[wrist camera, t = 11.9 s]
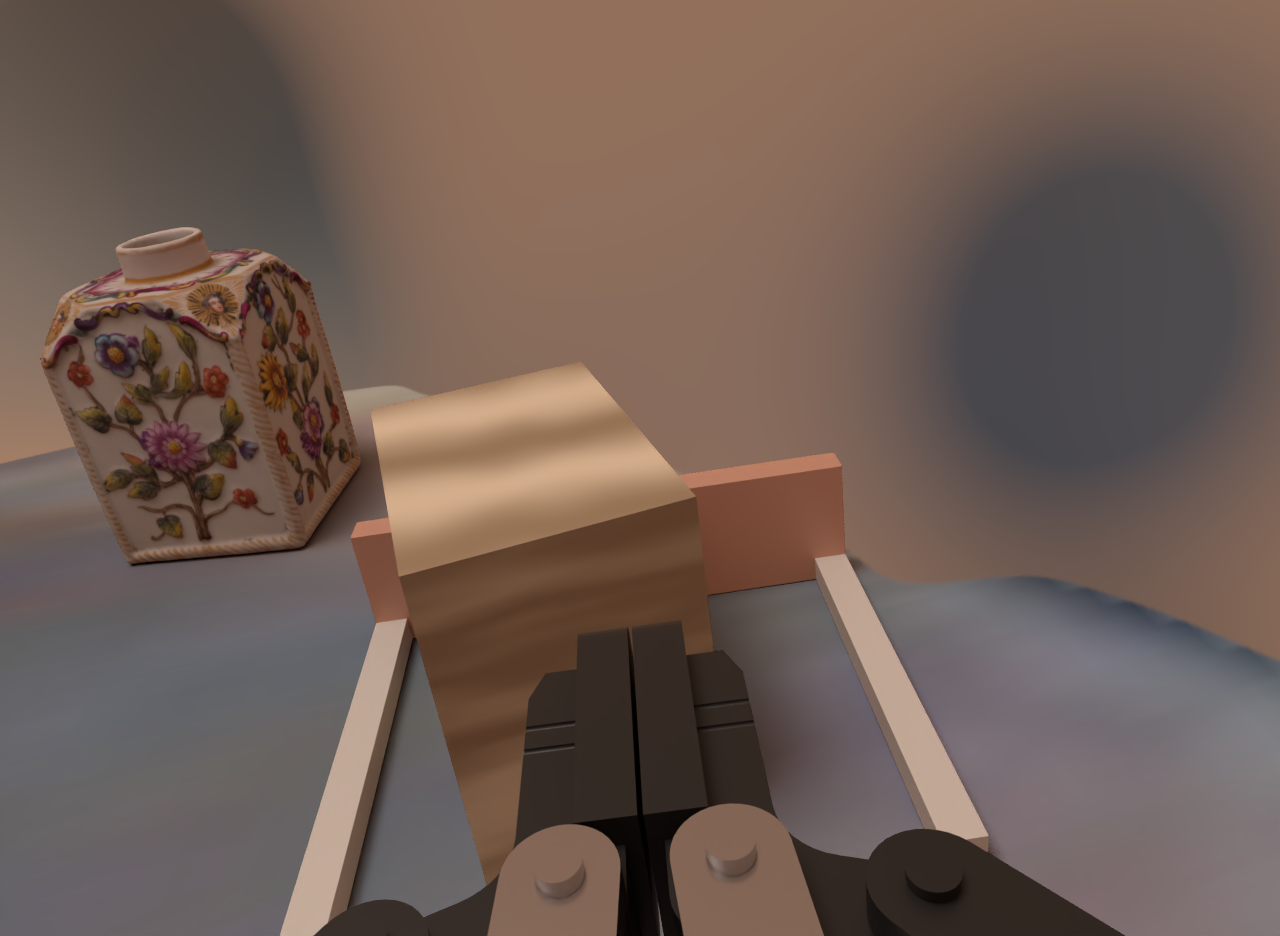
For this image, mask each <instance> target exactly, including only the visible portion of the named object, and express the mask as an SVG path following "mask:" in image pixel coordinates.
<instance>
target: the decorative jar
mask: <svg viewBox="0 0 1280 936" xmlns="http://www.w3.org/2000/svg"><path fill="white" fill-rule="evenodd" d="M116 254H117V257H118V260H119V262H120V265H121V269H119V270H116V271H114V272H112V273H110V274H109V275H106V276H103V277H100V278H98V279H96V280H93V281H91V282H89V283H86V284H84V285H82V286H79V287H77V288H75V289H73V290H71V291H70V292H68V293H67V294H65V295H64V296H62V298H61V299H60V301H59V303H58V307H57V310H56V313H55V316H54V319H53V321H52V324H51V327H50V330H49V333H48V336H47V338H46V342H45V346H44V350H43V353H42V356H41V358H40V360H41V364H42V367H43V370H44V373H45V375H46V377H47V379H48V381H49V384H50V386H51V389H52V391H53V394H54V396H55V398H56V401H57V403H58V405H59V407H60V410H61V413H62V415H63V417H64V420H65V422H66V425H67V427H68V430H69V432H70V435H71V437H72V439H73V441H74V444H75V446H76V449H77V451H78V454H79V456H80V458H81V461H82V463H83V465H84V468H85V470H86V472H87V474H88V477H89V479H90V481H91V484H92V486H93V489H94V491H95V492H96V495H97V497H98V499H99V502H100V503H101V506H102V508H103V510H104V513H105V515H106V518H107V519H108V522H109V524H110V526H111V528H112V530H113V532H114V535H115V537H116V539H117V541H118V544H119V546H120V548H121V549H122V551H123V553H124V556H125V559H126V560H127V562H128V563H129V564H135V563H142V562H153V561H165V560H167V561H168V560H177V559H188V558H199V557H210V556H220V555H233V554H245V553H254V552H265V551H275V550H284V549H295V548H300V547H303V546H304V545H305V544H306V542H307V541H308V540H309V538H310V537H311V535H312V534H313V532H314V530H315V529H316V528H317V526H318V525H319V523H320V522H321V521H322V519H323V518H324V516H325V515H326V513H327V512H328V510H329V509H330V508H331V506H332V505H333V503H334V502H335V500H336V499H337V497H338V496H339V495H340V493H341V492H342V490H343V489H344V487H345V486H346V485H347V483H348V482H349V480H350V479H351V477H352V476H353V474H354V473H355V472H356V470H357V469H358V467H359V465H360V462H361V459H360V453H359V449H358V445H357V441H356V437H355V435H354V430H353V426H352V423H351V420H350V416H349V412H348V409H347V405H346V402H345V399H344V395H343V392H342V388H341V385H340V382H339V377H338V375H337V371H336V367H335V364H334V361H333V358H332V355H331V352H330V348H329V345H328V342H327V338H326V336H325V333H324V330H323V326H322V323H321V320H320V317H319V313H318V310H317V306H316V303H315V300H314V296H313V292H312V290H311V283H310V282H309V281H308V280H306V279H304V278H303V277H302V276H301V275H300V274H299V273H298V272H297V271H296V270H294V269H293V268H292V267H289V266H288V265H287V264H285V263H284V262H283V261H281V260H280V259H279V258H277V257H276V256H274V255H271V254H269V253H266V252H263V251H260V250H254V249H231V250H230V249H227V250H212V251H208V248H207V246H206V243H205V240H204V238H203V235H202V232H201V231H200V230H199V229H196V228H190V227H187V228H186V227H183V228H176V229H170V230H166V231H160V232H156V233H152V234H148V235H145V236H141V237H137V238H134V239H132V240H129V241H127V242H125V243H123V244H120V245H119V246H117V247H116Z"/></svg>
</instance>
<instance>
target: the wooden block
mask: <svg viewBox="0 0 1280 936" xmlns="http://www.w3.org/2000/svg"><path fill="white" fill-rule="evenodd" d="M371 416H372V421H373V427H374V433H375V439H376V445H377V451H378V457H379V463H380V469H381V474H382V480H383V486H384V492H385V498H386V504H387V510H388V516H389V522H390V527H391V533H392V539H393V545H394V551H395V557H396V563H397V569H398V575H399V579H400V582H401V586H402V589H403V593H404V596H405V600H406V603H407V607H408V610H409V614H410V617H411V621H412V624H413V628H414V631H415V635H416V638H417V642H418V645H419V649H420V652H421V656H422V660H423V663H424V667H425V670H426V674H427V677H428V681H429V684H430V688H431V691H432V695H433V698H434V702H435V705H436V709H437V712H438V716H439V719H440V723H441V726H442V730H443V733H444V737H445V740H446V744H447V747H448V751H449V754H450V758H451V761H452V765H453V768H454V772H455V775H456V779H457V782H458V786H459V789H460V793H461V796H462V800H463V803H464V807H465V810H466V814H467V817H468V821H469V824H470V828H471V831H472V835H473V838H474V842H475V845H476V849H477V852H478V856H479V859H480V863H481V866H482V870H483V873H484V877H485V880H486V884H487V885H488V884H489V883H491V882H492V881H493V880H494V879H495V878H496V876H497V875H498V874H499V873H500V872H501V868H502V866H503V864H504V862H505V860H506V859H507V857H508V856H509V854H510V853H511V852H512V851H513V848H514V843H515V837H516V827H517V816H518V806H519V795H520V784H521V774H522V763H523V755H524V742H525V732H526V721H527V710H528V700H529V698H530V696H531V695H532V693H533V692H534V690H535V689H536V687H537V685H538V684H539V682H540V681H541V679H542V678H543V676H544V675H545V673H551V672H559V671H567V670H574V669H577V639H578V633H584V632H592V631H599V630H607V629H614V628H622V627H628V629H629V633H630V639H631V645H632V651H633V640H632V626H639V625H646V624H654V623H661V622H669V621H677V620H681V622H682V629H683V636H684V643H685V650H686V655H690V654H698V653H706V652H713V651H714V647H713V638H712V630H711V621H710V612H709V604H708V595H707V586H706V578H705V569H704V560H703V552H702V543H701V534H700V526H699V517H698V508H697V500H696V496H695V495H694V493H693V492H692V491H691V490H690V489H689V488H688V486H687V485H686V484H685V483H684V482H683V481H682V479H681V478H680V477H679V476H678V475H677V474H676V472H675V471H674V470H673V469H672V468H671V467H670V465H669V464H668V463H667V462H666V461H665V460H664V458H663V457H662V456H661V455H660V454H659V453H658V451H657V450H656V449H655V448H654V447H653V446H652V444H651V443H650V442H649V441H648V440H647V439H646V437H645V436H644V435H643V434H642V433H641V432H640V430H639V429H638V428H637V427H636V426H635V424H634V423H633V422H632V421H631V420H630V419H629V417H628V416H627V415H626V414H625V413H624V412H623V410H622V409H621V408H620V407H619V406H618V405H617V403H616V402H615V401H614V400H613V399H612V398H611V397H610V395H609V394H608V393H607V392H606V391H605V389H604V388H603V387H602V386H601V385H600V384H599V382H598V381H597V380H596V379H595V378H594V377H593V375H592V374H591V373H590V372H589V371H588V370H587V368H586V367H585V366H584V365H583V364H582V362H577V363H573V364H569V365H564V366H560V367H556V368H551V369H546V370H542V371H538V372H533V373H529V374H525V375H520V376H516V377H512V378H507V379H503V380H499V381H495V382H490V383H486V384H481V385H477V386H473V387H468V388H464V389H460V390H455V391H451V392H446V393H442V394H438V395H433V396H429V397H425V398H420V399H416V400H411V401H407V402H403V403H398V404H394V405H390V406H385V407H381V408H377V409H372V410H371ZM633 657H634V656H633Z"/></svg>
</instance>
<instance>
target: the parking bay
mask: <svg viewBox="0 0 1280 936" xmlns="http://www.w3.org/2000/svg"><path fill="white" fill-rule="evenodd" d="M678 476H679V477H680V478H681V479H682V481H683V482H684V483H685V484H686V485H687V486H688V488H689V489H690V490H691V491H692V492H693V493H694V495H695V496H696V500H697V508H698V517H699V526H700V534H701V543H702V552H703V560H704V569H705V578H706V586H707V595H711V594H718V593H725V592H731V591H738V590H745V589H752V588H759V587H765V586H772V585H779V584H786V583H792V582H799V581H806V580H813V579H816V581H817V583H818V585H819V587H820V590H821V592H822V594H823V597H824V599H825V601H826V604H827V606H828V608H829V610H830V613H831V615H832V617H833V620H834V622H835V624H836V626H837V629H838V631H839V633H840V636H841V638H842V640H843V643H844V645H845V647H846V649H847V652H848V654H849V656H850V659H851V661H852V663H853V666H854V668H855V670H856V672H857V675H858V677H859V679H860V682H861V684H862V686H863V689H864V691H865V693H866V695H867V698H868V700H869V702H870V705H871V707H872V709H873V712H874V714H875V716H876V718H877V721H878V723H879V725H880V728H881V730H882V732H883V735H884V737H885V739H886V741H887V744H888V746H889V748H890V751H891V753H892V755H893V758H894V760H895V762H896V764H897V767H898V769H899V771H900V774H901V776H902V778H903V781H904V783H905V785H906V787H907V790H908V792H909V794H910V797H911V799H912V801H913V804H914V806H915V808H916V810H917V813H918V815H919V817H920V820H921V822H922V824H923V827H924V829H933V830H940V831H944V832H949V833H952V834H954V835H957V836H960V837H962V838H964V839H966V840H968V841H970V842H971V843H973V844H975V845H976V846H978V847H980V848H981V849H983V850H985V851H986V852H988V840H989V836H988V834H987V832H986V830H985V828H984V826H983V824H982V822H981V820H980V818H979V816H978V814H977V812H976V810H975V808H974V806H973V804H972V802H971V800H970V798H969V796H968V794H967V792H966V790H965V788H964V786H963V785H962V783H961V781H960V779H959V777H958V775H957V773H956V771H955V769H954V767H953V765H952V763H951V761H950V759H949V757H948V755H947V753H946V751H945V749H944V747H943V745H942V743H941V741H940V739H939V737H938V735H937V733H936V731H935V729H934V728H933V726H932V724H931V722H930V720H929V718H928V716H927V714H926V712H925V710H924V708H923V706H922V704H921V702H920V700H919V698H918V696H917V694H916V692H915V690H914V688H913V686H912V684H911V682H910V680H909V678H908V676H907V674H906V672H905V670H904V669H903V667H902V665H901V663H900V661H899V659H898V657H897V655H896V653H895V651H894V649H893V647H892V645H891V643H890V641H889V639H888V637H887V635H886V633H885V631H884V629H883V627H882V625H881V623H880V621H879V619H878V617H877V615H876V613H875V611H874V610H873V608H872V606H871V604H870V602H869V600H868V598H867V596H866V594H865V592H864V590H863V588H862V586H861V584H860V582H859V580H858V578H857V576H856V574H855V572H854V570H853V568H852V566H851V564H850V562H849V560H848V558H847V556H846V554H845V535H844V509H843V482H842V466H841V464H840V462H839V461H838V459H837V457H836V456H835V454H834V453H827V454H821V455H814V456H807V457H800V458H794V459H786V460H779V461H773V462H766V463H759V464H752V465H745V466H739V467H732V468H725V469H718V470H711V471H704V472H698V473H691V474H684V475H678ZM351 542H352V545H353V548H354V551H355V555H356V558H357V561H358V565H359V568H360V571H361V574H362V578H363V581H364V584H365V587H366V591H367V594H368V597H369V600H370V604H371V607H372V610H373V613H374V617H375V620H376V626H375V629H374V632H373V636H372V639H371V642H370V645H369V649H368V652H367V655H366V658H365V662H364V665H363V668H362V671H361V675H360V678H359V681H358V684H357V688H356V691H355V694H354V697H353V700H352V704H351V707H350V710H349V713H348V717H347V720H346V723H345V726H344V730H343V733H342V736H341V739H340V743H339V746H338V749H337V752H336V756H335V759H334V762H333V765H332V768H331V772H330V775H329V778H328V781H327V785H326V788H325V791H324V794H323V798H322V801H321V804H320V807H319V811H318V814H317V817H316V820H315V824H314V827H313V830H312V833H311V836H310V840H309V843H308V846H307V849H306V853H305V856H304V859H303V862H302V866H301V869H300V872H299V875H298V879H297V882H296V885H295V888H294V892H293V895H292V898H291V901H290V904H289V908H288V911H287V914H286V917H285V921H284V924H283V927H282V930H281V934H280V936H314V935H315V934H316V933H317V932H318V931H319V930H320V929H321V928H322V927H323V926H325V925H326V924H327V923H328V922H329V921H330V920H332V919H333V918H335V917H336V916H338V915H339V914H341V913H342V912H344V911H346V910H347V907H348V903H349V899H350V894H351V890H352V886H353V882H354V878H355V874H356V870H357V866H358V862H359V858H360V853H361V849H362V845H363V841H364V837H365V833H366V829H367V825H368V821H369V816H370V812H371V808H372V804H373V800H374V796H375V792H376V788H377V784H378V780H379V775H380V771H381V767H382V763H383V759H384V755H385V751H386V747H387V743H388V738H389V734H390V730H391V726H392V722H393V718H394V714H395V710H396V706H397V702H398V697H399V693H400V689H401V685H402V681H403V677H404V673H405V669H406V665H407V660H408V656H409V652H410V648H411V644H412V640H413V638H416V635H415V631H414V628H413V624H412V621H411V617H410V614H409V610H408V607H407V603H406V600H405V596H404V593H403V589H402V586H401V582H400V579H399V575H398V569H397V563H396V557H395V551H394V545H393V539H392V533H391V527H390V522H389V518H384V519H377V520H370V521H364V522H357V523H356V526H355V528H354V531H353V533H352V536H351Z"/></svg>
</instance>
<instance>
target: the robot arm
mask: <svg viewBox="0 0 1280 936" xmlns="http://www.w3.org/2000/svg"><path fill="white" fill-rule="evenodd" d="M632 640H633V651H632V645H631V639H630V633H629V629H628V627H622V628H614V629H607V630H599V631H592V632H584V633H578V639H577V669H574V670H567V671H559V672H551V673H545V675H544V676H543V678H542V679H541V681H540V682H539V684H538V685H537V687H536V689H535V690H534V692H533V693H532V695H531V696H530V698H529V700H528V710H527V721H526V732H525V742H524V755H523V763H522V774H521V784H520V795H519V806H518V816H517V827H516V837H515V843H514V848H513V851H512V852H511V853H510V854H509V856H508V857H507V859H506V860H505V862H504V864H503V866H502V868H501V872H500V873H499V874H498V875H497V876H496V878H495V879H494V880H493V881H492V882H491V883H489V884H488V885H487V886H486V887H485V888H483V889H482V890H481V891H479V892H478V893H476V894H475V895H473V896H471V897H470V898H468V899H466V900H463V901H461V902H459V903H457V904H455V905H452V906H450V907H448V908H445V909H443V910H440V911H438V912H436V913H433V914H431V915H428V916H426V917H424V918H423V917H422V915H421V914H420V913H419V912H418V911H417V910H416V909H415V908H413V907H412V906H410V905H408V904H406V903H404V902H400V901H396V900H375V901H370V902H366V903H362V904H360V905H357V906H354V907H352V908H350V909H348V910H346V911H344V912H342V913H341V914H339V915H338V916H336V917H335V918H333V919H332V920H330V921H329V922H328V923H327V924H326V925H325V926H323V927H322V928H321V929H320V930H319V931H318V932H317V933H316V934H315V935H314V936H660V923H659V909H660V915H661V921H662V927H663V933H664V936H1125V935H1123V934H1121V933H1120V932H1118V931H1117V930H1115V929H1113V928H1112V927H1110V926H1108V925H1107V924H1105V923H1103V922H1102V921H1100V920H1098V919H1097V918H1095V917H1093V916H1092V915H1090V914H1088V913H1087V912H1085V911H1084V910H1082V909H1080V908H1079V907H1077V906H1075V905H1074V904H1072V903H1070V902H1069V901H1067V900H1065V899H1064V898H1062V897H1060V896H1059V895H1057V894H1055V893H1054V892H1052V891H1051V890H1049V889H1047V888H1046V887H1044V886H1042V885H1041V884H1039V883H1037V882H1036V881H1034V880H1032V879H1031V878H1029V877H1027V876H1026V875H1024V874H1022V873H1021V872H1019V871H1018V870H1016V869H1014V868H1013V867H1011V866H1009V865H1008V864H1006V863H1004V862H1003V861H1001V860H999V859H998V858H996V857H994V856H993V855H991V854H990V853H988V852H986V851H985V850H983V849H981V848H980V847H978V846H976V845H975V844H973V843H971V842H970V841H968V840H966V839H964V838H962V837H960V836H957V835H954V834H952V833H949V832H944V831H940V830H933V829H914V830H908V831H903V832H900V833H897V834H895V835H893V836H891V837H889V838H887V839H886V840H884V841H883V842H882V843H880V844H879V845H878V846H877V847H876V849H875V850H874V851H873V852H872V854H871V856H870V858H869V860H867V859H860V858H854V857H847V856H840V855H835V854H830V853H825V852H822V851H819V850H817V849H814V848H812V847H810V846H808V845H806V844H804V843H802V842H800V841H799V840H798V839H796V838H795V837H793V836H792V835H791V834H790V833H789V832H788V831H787V829H786V828H785V827H784V825H783V824H782V823H781V822H780V821H779V820H778V818H777V816H776V814H775V811H774V808H773V805H772V800H771V796H770V791H769V787H768V783H767V778H766V774H765V769H764V765H763V760H762V756H761V751H760V747H759V743H758V738H757V734H756V729H755V726H754V721H753V716H752V711H751V707H750V703H749V698H748V694H747V689H746V685H745V680H744V676H743V671H742V670H741V669H740V668H739V667H738V666H737V665H736V664H735V663H734V662H733V661H732V660H731V659H730V658H729V657H728V655H727V654H726V653H725V652H724V651H723V650H721V651H713V652H706V653H698V654H690V655H686V650H685V643H684V636H683V629H682V622H681V620H677V621H669V622H661V623H654V624H646V625H639V626H632ZM633 656H634V657H633ZM658 904H659V909H658Z"/></svg>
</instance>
